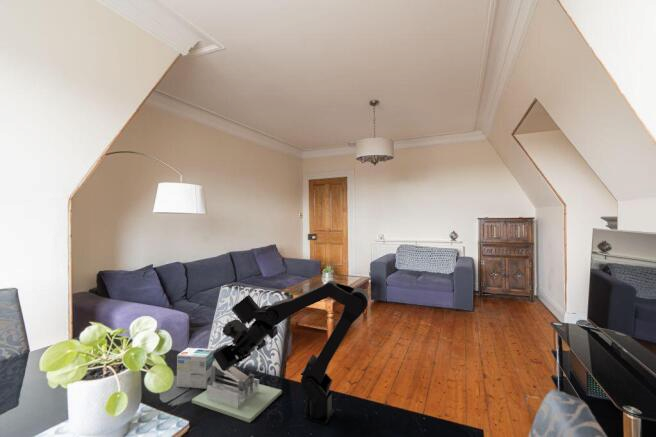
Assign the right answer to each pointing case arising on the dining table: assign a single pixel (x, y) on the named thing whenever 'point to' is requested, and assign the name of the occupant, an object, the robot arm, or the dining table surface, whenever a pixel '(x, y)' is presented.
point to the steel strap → (234, 374)
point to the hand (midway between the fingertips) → (226, 364)
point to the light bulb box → (194, 367)
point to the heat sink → (230, 389)
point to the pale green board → (245, 411)
